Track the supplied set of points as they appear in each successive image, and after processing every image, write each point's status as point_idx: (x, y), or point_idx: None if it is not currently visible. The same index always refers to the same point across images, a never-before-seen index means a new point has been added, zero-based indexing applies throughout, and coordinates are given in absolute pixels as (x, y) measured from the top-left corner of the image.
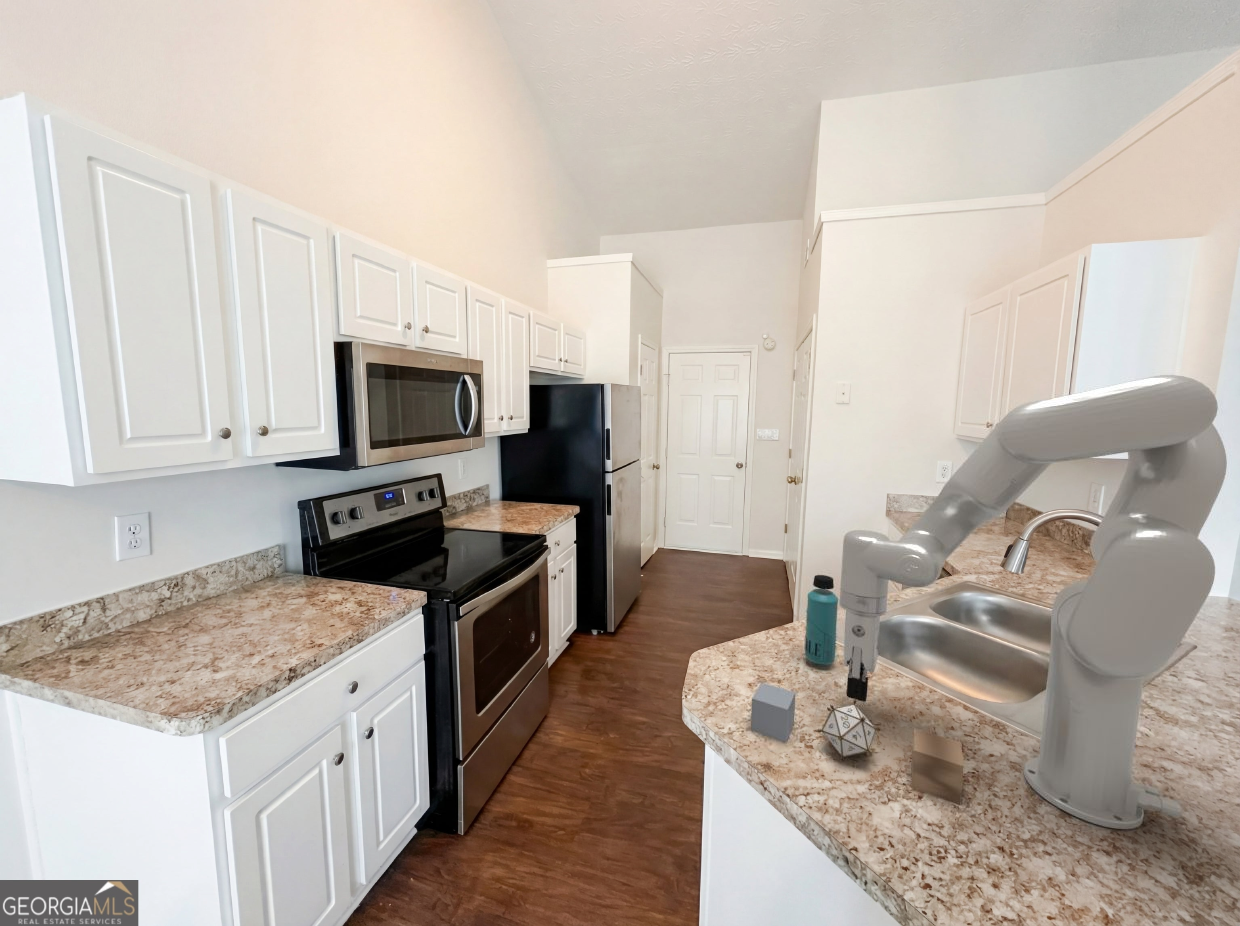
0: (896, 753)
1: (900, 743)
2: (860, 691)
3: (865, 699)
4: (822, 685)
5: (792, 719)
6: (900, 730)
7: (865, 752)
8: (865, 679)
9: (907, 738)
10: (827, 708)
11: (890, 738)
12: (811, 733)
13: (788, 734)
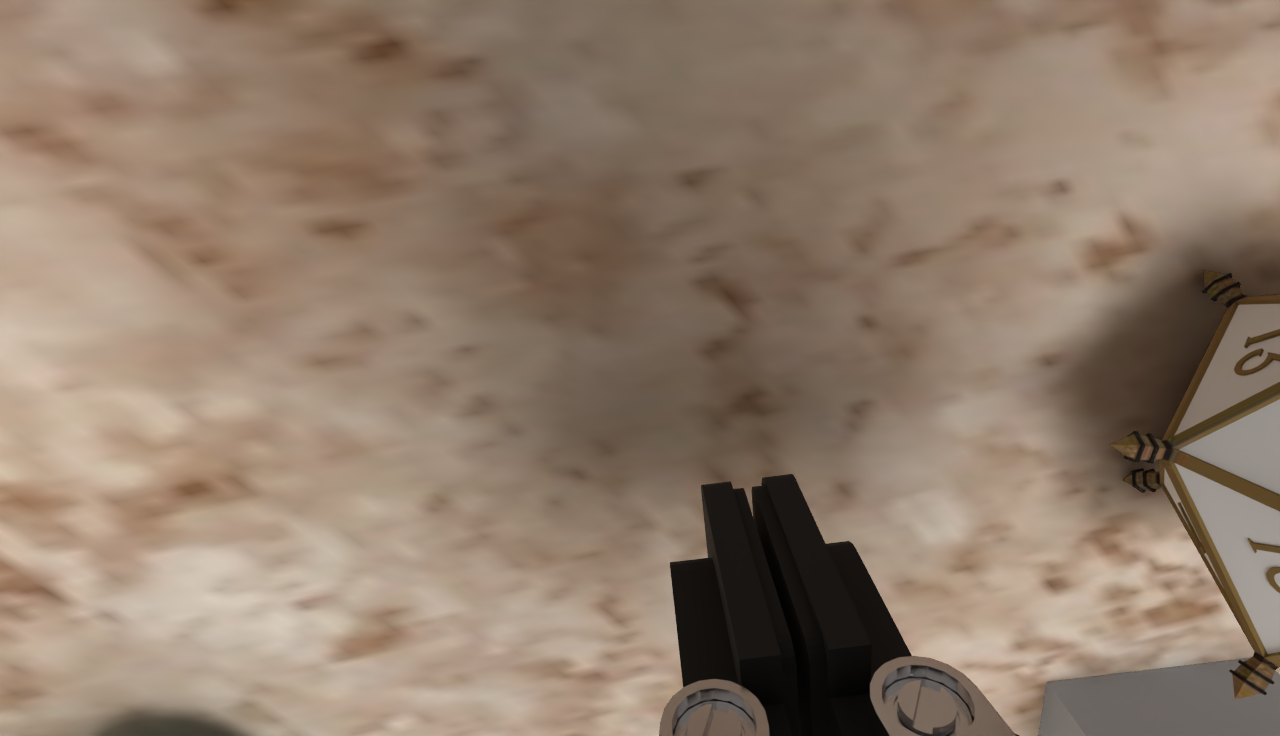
0: (1075, 89)
1: (909, 85)
2: (868, 585)
3: (794, 485)
4: (469, 694)
5: (1142, 728)
6: (702, 120)
7: (1238, 288)
8: (881, 679)
9: (795, 44)
10: (1259, 692)
11: (879, 170)
12: (1099, 591)
13: (1215, 679)
